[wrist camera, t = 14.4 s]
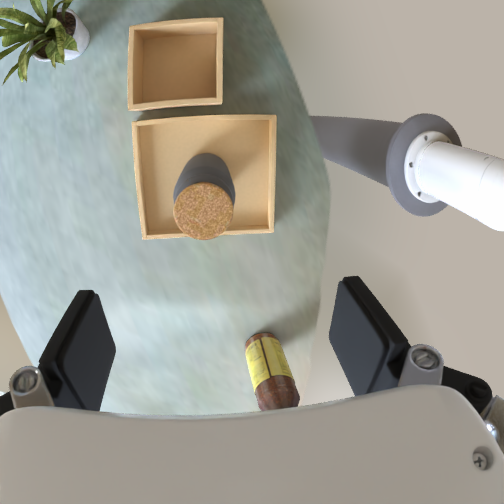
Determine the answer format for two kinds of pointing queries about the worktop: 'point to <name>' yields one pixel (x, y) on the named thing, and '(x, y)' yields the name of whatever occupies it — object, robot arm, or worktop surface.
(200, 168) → the bottle
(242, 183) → the tray
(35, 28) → the house plant
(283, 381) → the sauce bottle
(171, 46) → the bin
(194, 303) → the worktop surface
